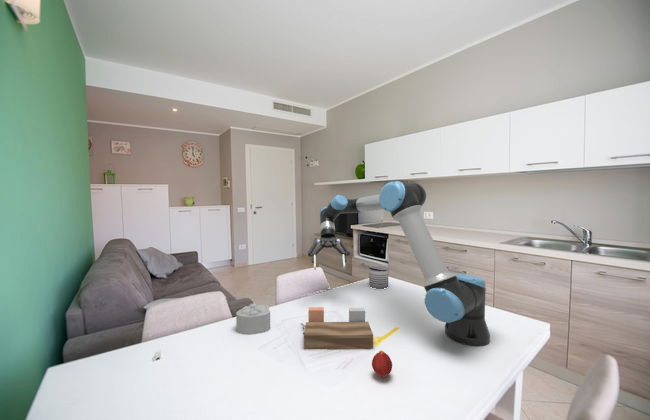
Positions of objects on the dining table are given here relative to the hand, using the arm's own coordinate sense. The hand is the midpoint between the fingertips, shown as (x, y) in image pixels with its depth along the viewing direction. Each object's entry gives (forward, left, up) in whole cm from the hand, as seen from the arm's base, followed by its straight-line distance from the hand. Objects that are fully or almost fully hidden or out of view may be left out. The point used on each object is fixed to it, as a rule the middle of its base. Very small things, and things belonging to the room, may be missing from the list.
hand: (329, 268), depth 124 cm
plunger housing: (-24, +12, -20) cm, 34 cm away
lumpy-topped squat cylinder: (+2, +35, -20) cm, 41 cm away
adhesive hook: (-1, +68, -21) cm, 71 cm away
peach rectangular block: (-17, +17, -19) cm, 31 cm away
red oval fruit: (-47, +11, -20) cm, 52 cm away
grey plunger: (-26, +3, -19) cm, 33 cm away
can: (+14, -43, -20) cm, 49 cm away
